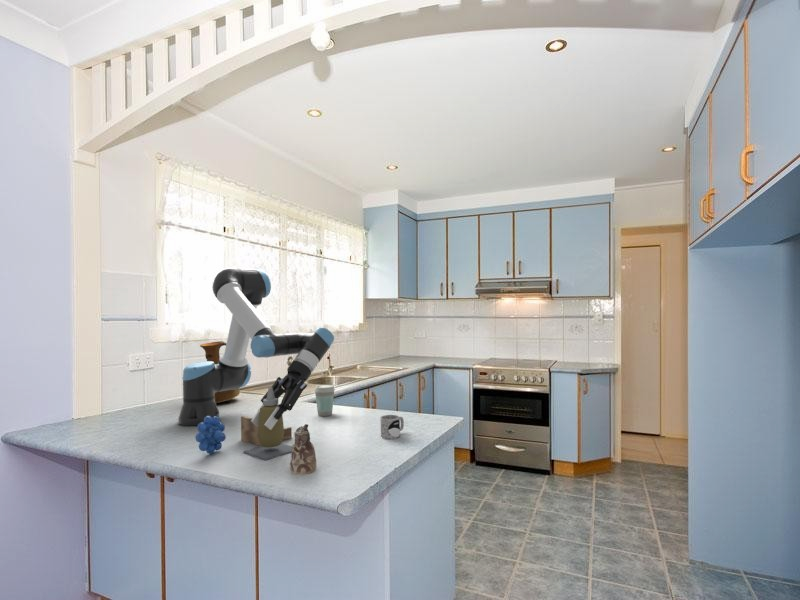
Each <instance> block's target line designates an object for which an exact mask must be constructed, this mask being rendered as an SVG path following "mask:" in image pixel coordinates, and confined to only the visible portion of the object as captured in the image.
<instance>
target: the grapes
mask: <svg viewBox="0 0 800 600" xmlns="http://www.w3.org/2000/svg"><path fill="white" fill-rule="evenodd" d="M196 426H197V431H198V432H197V433H196V435H195V438H194V439H195V440H196V442H197V443H199V444H198V448H199V450H200V451H201V452H206V453H207V454H208V455H213V454H214V453H215V452H216V451H220V450H221V449H222V446H223V445H222V443H223V442H224V441H225V440H226V439H227V436H226V434H225V432H224V431H225V429H226V426H225V424H224V423H222V422H221V419H220V417H219V418H218V417H217V416H214V417H213V418H212V417H210V416H206V417H205V418H204V423H203V422H201V423H199V424H198V425H196Z"/></svg>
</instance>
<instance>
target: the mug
mask: <svg viewBox="0 0 800 600" xmlns="http://www.w3.org/2000/svg"><path fill="white" fill-rule="evenodd" d="M404 427H405V422H404V417H402V416H400V415H398V414H397V415H396V414H386V415H385V414H384V415H382V416H380V438H381V437H382V439H383V438H385V439H384V440H395V439H394V438H396V439H398V437H399V438H400V437H401V432H402V430H404Z"/></svg>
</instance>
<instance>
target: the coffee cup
mask: <svg viewBox="0 0 800 600" xmlns="http://www.w3.org/2000/svg"><path fill="white" fill-rule="evenodd" d="M335 391H336V389H335V386H334V385H332V384H318V385H316V386H315V388H314V394H315V402H316V409H317V410H316V411H317V415H320V416H319V417H328V416H327V415H330V416H332V415H333V407H334V406H333V405H334V397H335ZM331 414H332V415H331Z"/></svg>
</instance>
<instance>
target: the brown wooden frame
mask: <svg viewBox="0 0 800 600" xmlns="http://www.w3.org/2000/svg"><path fill="white" fill-rule="evenodd" d="M253 418H254V417H249V416H246V415H240V433H241V435H240V439H241V441H242V442H243V441H244V442H247V443H250V444H253V445H255V444H256V445H255V446H258V447H259V446H261V443H260V440H259V437H258V426H256V425H255V424H254V423H252V422H251V420H252V419H253ZM292 429H293V428H292V427H291V426H289V427H284V435H283V439H282V441H284V440H287V439H288V440H289V439H292V437H293V436H292V435H293V434H292V433H293V432H292Z"/></svg>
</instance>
